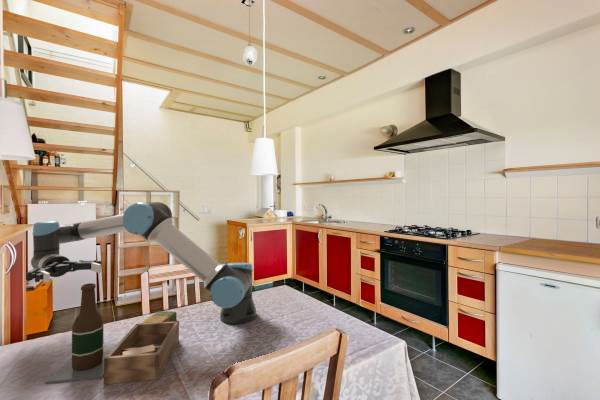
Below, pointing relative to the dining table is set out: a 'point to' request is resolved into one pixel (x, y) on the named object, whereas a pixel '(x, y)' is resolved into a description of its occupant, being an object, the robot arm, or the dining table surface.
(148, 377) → the wooden box
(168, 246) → the robot arm
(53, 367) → the dining table surface
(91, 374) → the plate
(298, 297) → the dining table surface
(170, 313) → the carton
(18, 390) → the dining table surface
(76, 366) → the beer bottle
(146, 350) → the offcut upper
